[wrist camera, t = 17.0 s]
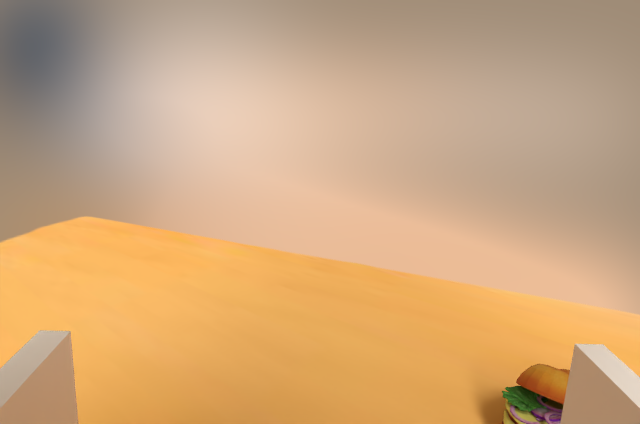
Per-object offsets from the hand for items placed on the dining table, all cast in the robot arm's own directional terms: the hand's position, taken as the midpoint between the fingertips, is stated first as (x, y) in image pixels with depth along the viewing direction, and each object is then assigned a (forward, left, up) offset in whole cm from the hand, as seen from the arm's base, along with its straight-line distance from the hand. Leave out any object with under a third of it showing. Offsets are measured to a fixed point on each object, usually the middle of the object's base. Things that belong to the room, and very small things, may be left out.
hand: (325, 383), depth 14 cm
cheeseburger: (-27, -36, -30) cm, 54 cm away
